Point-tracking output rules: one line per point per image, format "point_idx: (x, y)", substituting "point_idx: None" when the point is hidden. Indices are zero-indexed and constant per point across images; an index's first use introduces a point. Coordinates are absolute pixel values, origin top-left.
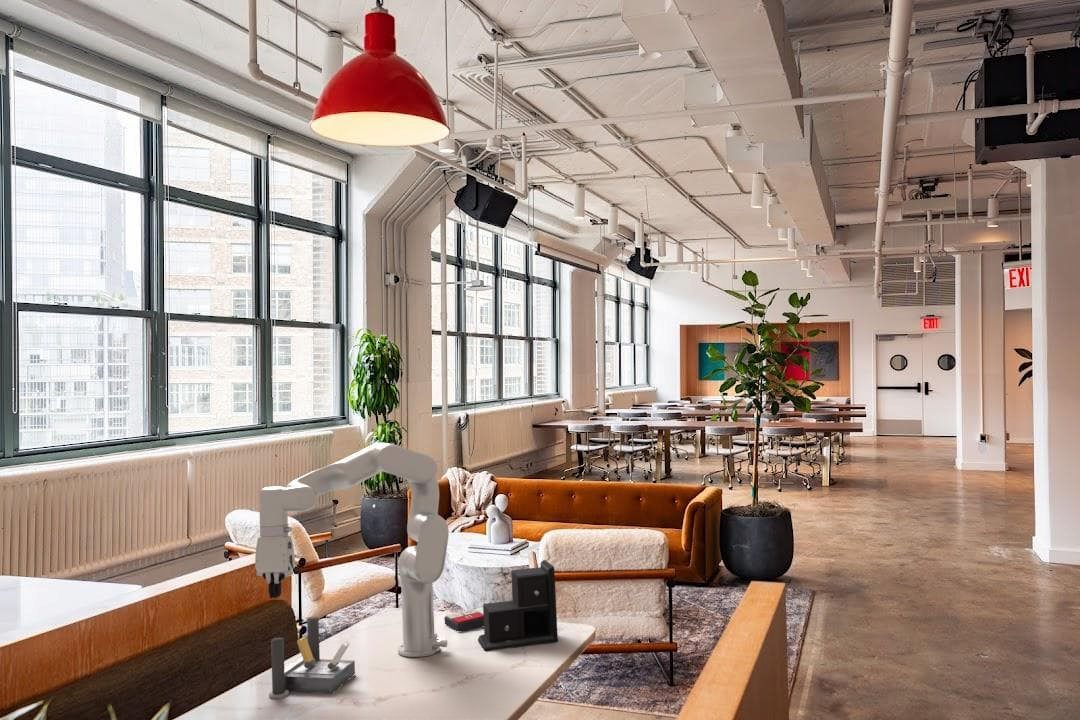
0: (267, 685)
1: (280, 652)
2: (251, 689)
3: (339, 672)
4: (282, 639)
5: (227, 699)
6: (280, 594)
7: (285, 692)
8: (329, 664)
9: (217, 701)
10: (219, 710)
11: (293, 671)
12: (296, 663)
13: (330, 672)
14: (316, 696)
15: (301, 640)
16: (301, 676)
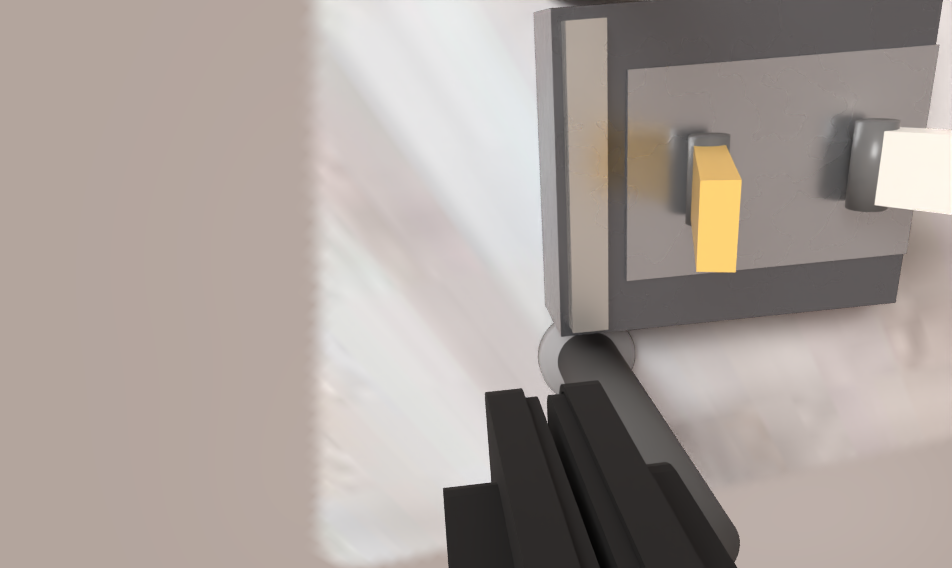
0: (441, 249)
1: None
2: (391, 317)
3: (909, 211)
4: (735, 543)
5: (360, 447)
6: (598, 383)
7: (622, 353)
8: (866, 210)
9: (330, 476)
10: (415, 546)
11: (627, 267)
12: (597, 172)
13: (861, 234)
14: (777, 323)
15: (735, 259)
16: (708, 315)
